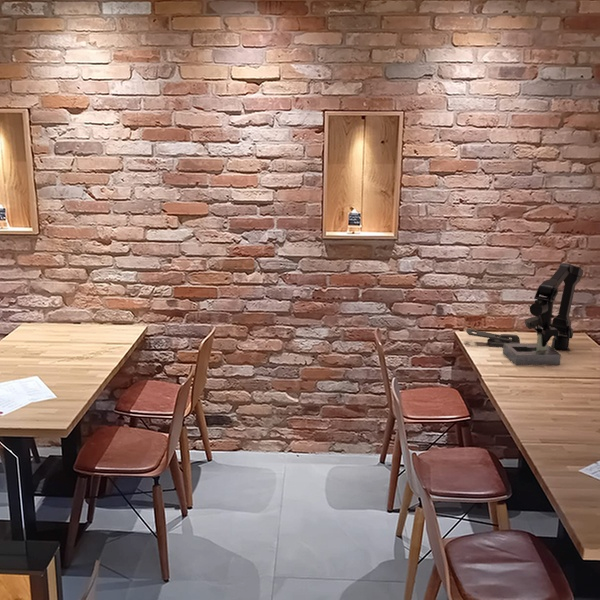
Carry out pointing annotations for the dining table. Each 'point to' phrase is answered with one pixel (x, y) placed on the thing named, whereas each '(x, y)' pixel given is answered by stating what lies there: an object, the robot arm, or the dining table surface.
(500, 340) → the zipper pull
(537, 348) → the headed peg
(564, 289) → the robot arm
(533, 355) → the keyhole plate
